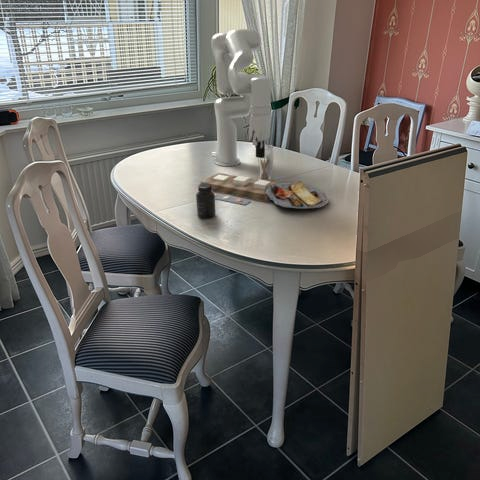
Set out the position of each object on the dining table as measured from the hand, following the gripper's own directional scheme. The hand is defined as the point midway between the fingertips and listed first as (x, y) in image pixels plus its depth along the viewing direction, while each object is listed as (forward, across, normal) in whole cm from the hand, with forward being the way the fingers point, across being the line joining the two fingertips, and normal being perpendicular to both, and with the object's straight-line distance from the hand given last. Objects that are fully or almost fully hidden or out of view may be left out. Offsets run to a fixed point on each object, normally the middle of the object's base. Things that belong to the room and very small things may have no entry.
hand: (260, 157), depth 188 cm
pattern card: (+16, +12, -9) cm, 22 cm away
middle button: (+14, 0, -9) cm, 16 cm away
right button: (+14, 0, +1) cm, 14 cm away
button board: (+16, 0, -9) cm, 18 cm away
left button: (+15, 0, -19) cm, 24 cm away
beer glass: (+16, -17, -6) cm, 24 cm away
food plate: (+15, 0, +16) cm, 22 cm away
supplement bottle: (+16, +30, -7) cm, 35 cm away
